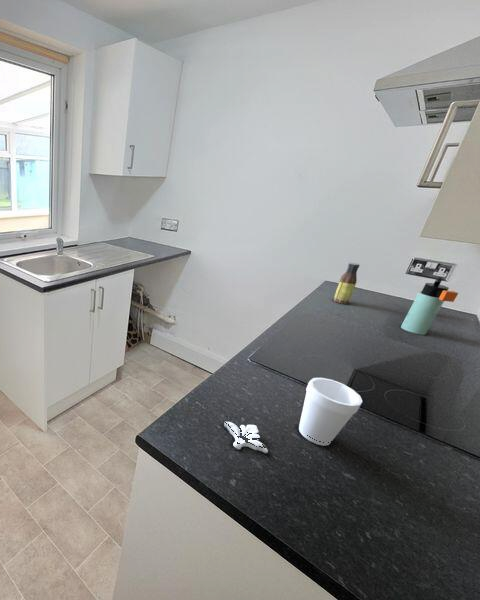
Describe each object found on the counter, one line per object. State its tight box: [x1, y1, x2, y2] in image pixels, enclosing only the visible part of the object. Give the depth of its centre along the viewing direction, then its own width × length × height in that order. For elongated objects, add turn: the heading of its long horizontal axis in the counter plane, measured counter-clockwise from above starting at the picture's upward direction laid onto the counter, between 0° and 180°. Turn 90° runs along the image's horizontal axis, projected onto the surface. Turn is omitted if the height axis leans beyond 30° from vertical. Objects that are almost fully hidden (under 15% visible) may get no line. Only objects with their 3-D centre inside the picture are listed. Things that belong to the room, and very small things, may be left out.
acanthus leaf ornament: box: [223, 421, 269, 454], centre depth 71 cm, size 8×7×2 cm
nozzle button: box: [439, 290, 459, 303], centre depth 118 cm, size 2×4×4 cm, turn 77°
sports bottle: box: [400, 276, 450, 336], centre depth 126 cm, size 8×8×23 cm
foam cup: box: [298, 377, 363, 446], centre depth 71 cm, size 10×9×13 cm
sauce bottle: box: [333, 262, 361, 305], centre depth 153 cm, size 7×6×20 cm
